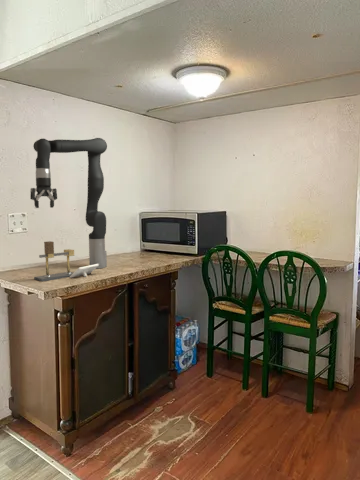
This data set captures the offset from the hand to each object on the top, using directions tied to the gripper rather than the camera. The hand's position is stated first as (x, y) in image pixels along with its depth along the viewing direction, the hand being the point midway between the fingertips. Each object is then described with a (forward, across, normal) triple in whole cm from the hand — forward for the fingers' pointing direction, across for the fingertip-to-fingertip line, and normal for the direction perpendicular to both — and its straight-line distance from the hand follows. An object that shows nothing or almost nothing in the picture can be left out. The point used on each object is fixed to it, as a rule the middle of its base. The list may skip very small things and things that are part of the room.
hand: (44, 207), depth 201 cm
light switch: (+36, -8, +23) cm, 44 cm away
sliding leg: (+33, +9, +18) cm, 39 cm away
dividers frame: (+34, +5, +17) cm, 38 cm away
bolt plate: (+36, +4, +16) cm, 39 cm away
